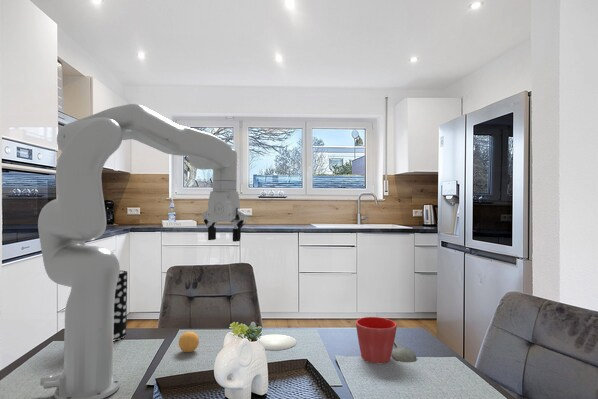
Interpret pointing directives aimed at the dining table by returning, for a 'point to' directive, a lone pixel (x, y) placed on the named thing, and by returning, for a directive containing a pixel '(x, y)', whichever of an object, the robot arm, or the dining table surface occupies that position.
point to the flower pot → (376, 338)
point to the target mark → (277, 342)
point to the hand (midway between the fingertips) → (223, 240)
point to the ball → (188, 341)
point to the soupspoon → (403, 354)
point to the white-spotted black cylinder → (120, 306)
